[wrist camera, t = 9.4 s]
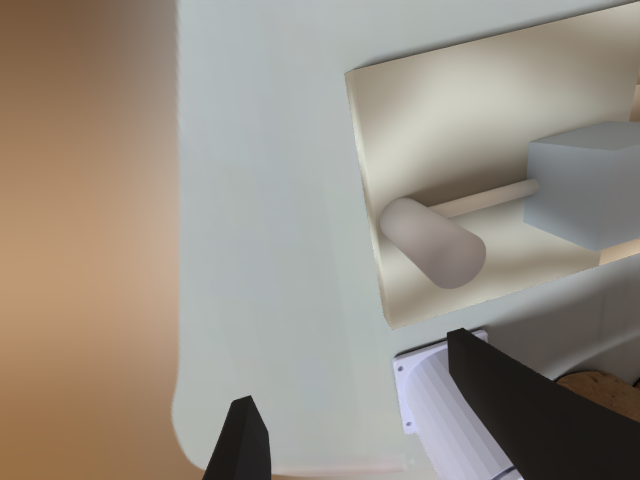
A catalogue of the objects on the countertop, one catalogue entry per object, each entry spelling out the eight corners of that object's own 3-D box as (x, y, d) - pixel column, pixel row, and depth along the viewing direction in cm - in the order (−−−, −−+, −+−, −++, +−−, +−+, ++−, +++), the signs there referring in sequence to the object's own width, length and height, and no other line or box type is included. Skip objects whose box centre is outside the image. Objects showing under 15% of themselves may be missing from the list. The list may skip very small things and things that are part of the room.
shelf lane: (690, 222, 24) (778, 244, 20) (384, 316, 22) (412, 363, 18) (775, -30, 17) (935, -75, 13) (344, 73, 15) (375, 59, 11)
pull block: (592, 201, 19) (707, 232, 14) (384, 261, 18) (431, 317, 13) (607, 121, 17) (747, 124, 12) (374, 183, 16) (424, 214, 11)
